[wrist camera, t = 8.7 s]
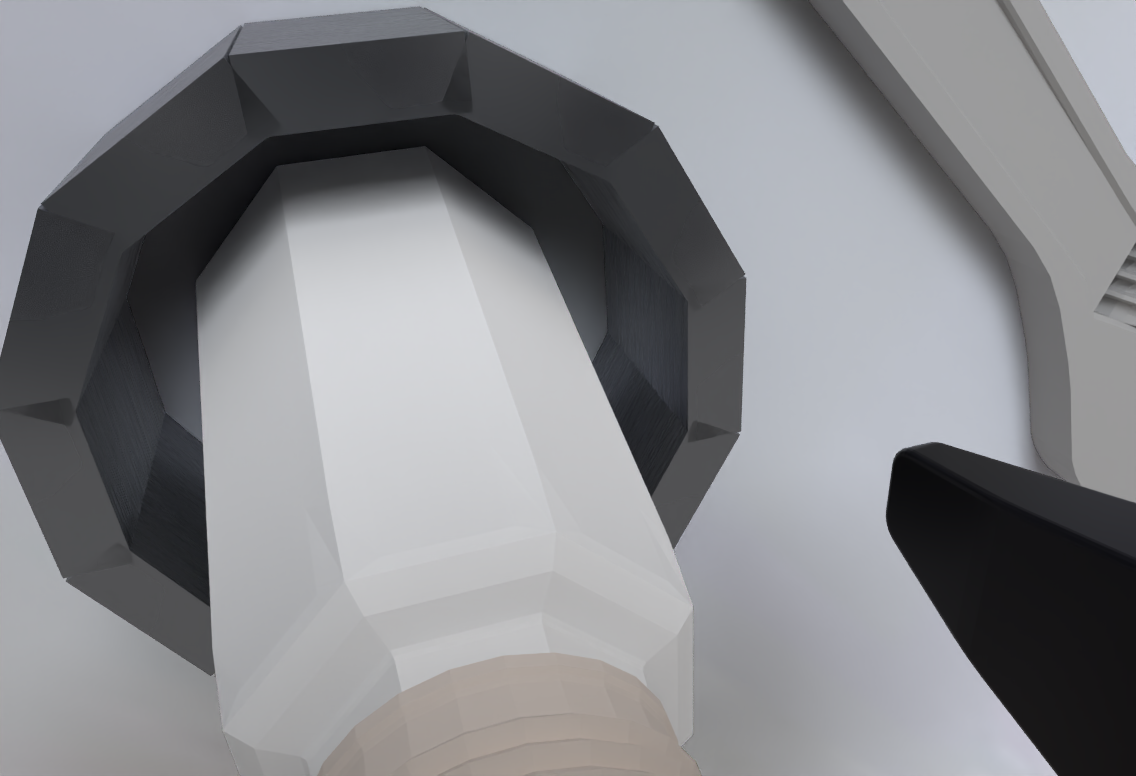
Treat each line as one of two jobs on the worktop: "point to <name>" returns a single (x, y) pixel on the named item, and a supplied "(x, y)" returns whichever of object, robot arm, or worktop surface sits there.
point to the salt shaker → (423, 497)
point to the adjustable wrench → (1027, 201)
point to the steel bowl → (305, 104)
